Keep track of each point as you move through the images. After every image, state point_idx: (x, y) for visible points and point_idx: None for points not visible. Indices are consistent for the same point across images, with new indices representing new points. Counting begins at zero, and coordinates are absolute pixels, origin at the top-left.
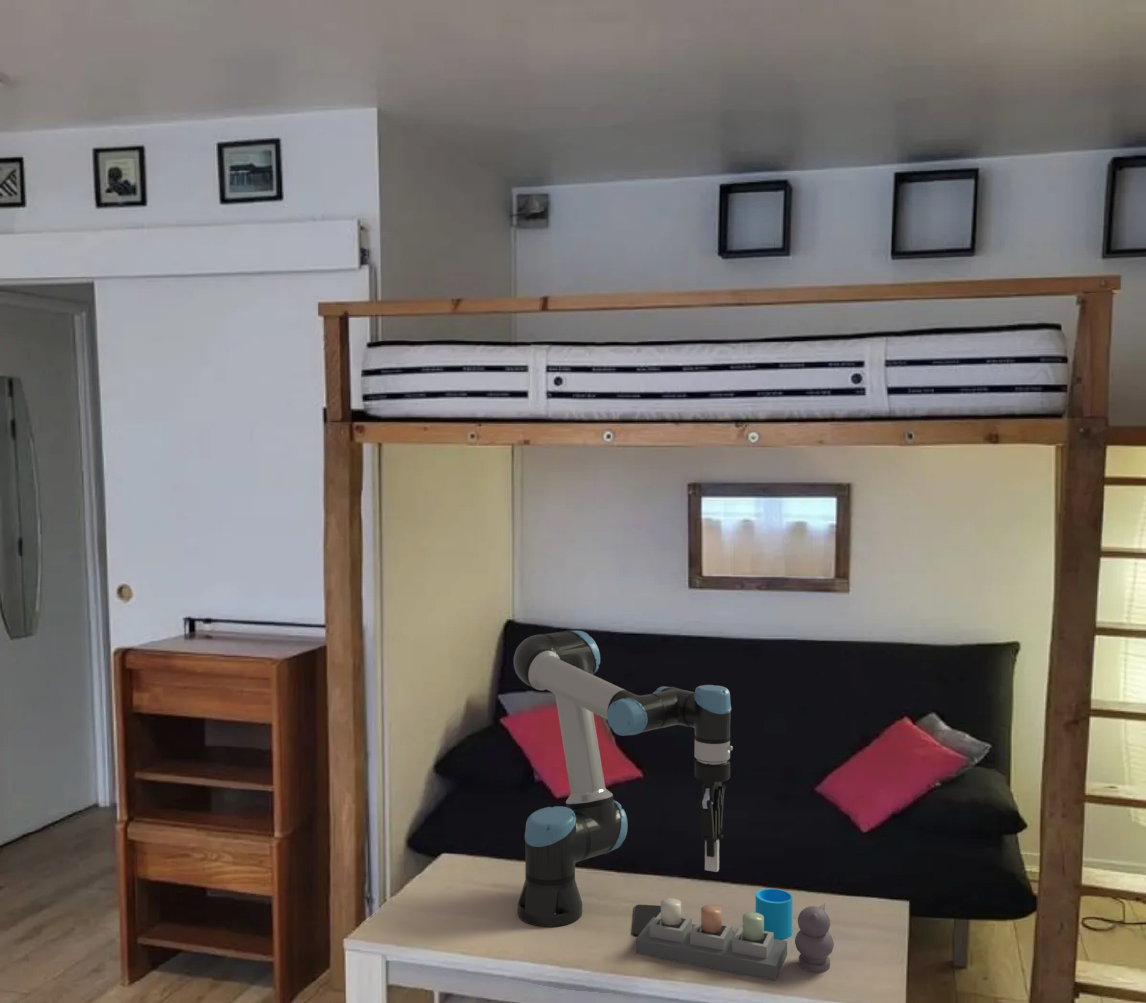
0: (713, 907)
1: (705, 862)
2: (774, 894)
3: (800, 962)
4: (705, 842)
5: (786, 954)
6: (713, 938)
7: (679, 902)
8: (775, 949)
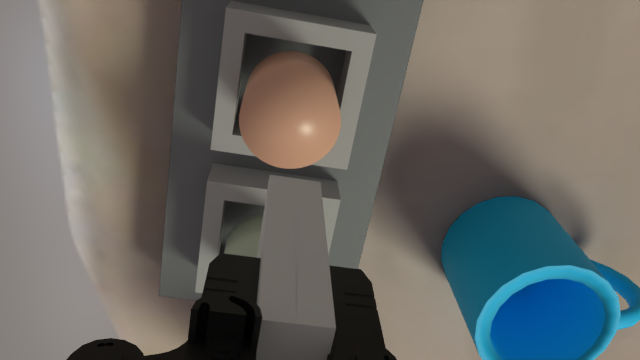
0: (315, 129)
1: (268, 204)
2: (594, 314)
3: None
4: (258, 305)
5: None
6: (215, 108)
7: None
8: None
